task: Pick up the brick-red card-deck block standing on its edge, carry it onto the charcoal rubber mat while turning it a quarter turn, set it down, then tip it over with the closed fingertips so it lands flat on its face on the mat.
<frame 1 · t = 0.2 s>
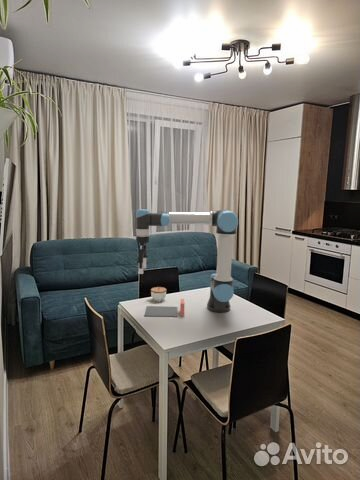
hand: (142, 270, 194), 27 cm above the table, fingers open, 13 cm apart
lidded jar: (158, 300, 225), on the table
mat: (161, 311, 204), on the table
deck: (182, 313, 202), on the table
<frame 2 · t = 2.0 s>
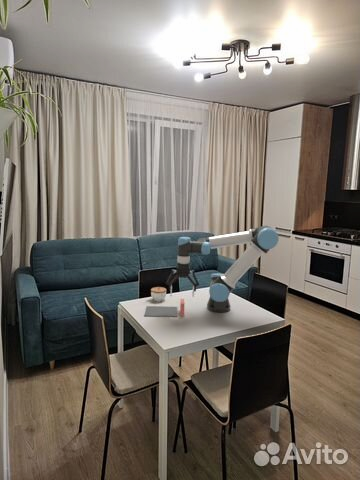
hand: (182, 296, 200), 11 cm above the table, fingers open, 13 cm apart
nothing on the table moved.
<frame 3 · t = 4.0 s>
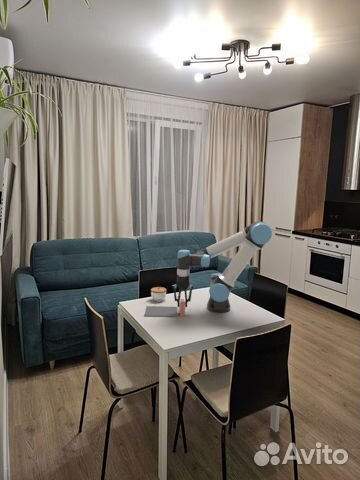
hand: (182, 311, 202), 1 cm above the table, fingers closed on deck, 2 cm apart
deck: (182, 313, 202), on the table, touching gripper
everything else where it was.
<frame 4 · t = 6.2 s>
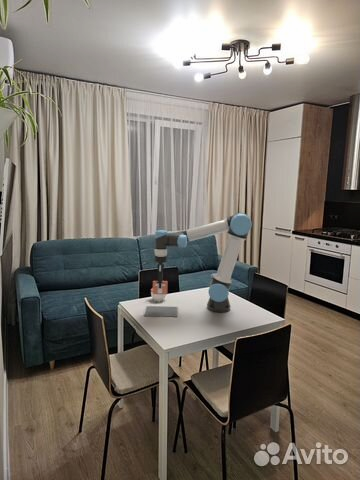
hand: (160, 292, 203), 12 cm above the table, fingers closed on deck, 2 cm apart
deck: (160, 293, 203), point 11 cm above the table, touching gripper
everything else where it was.
when the fingers open (3 cm above the table, at t = 8.3 s): deck drops 1 cm, resting on mat.
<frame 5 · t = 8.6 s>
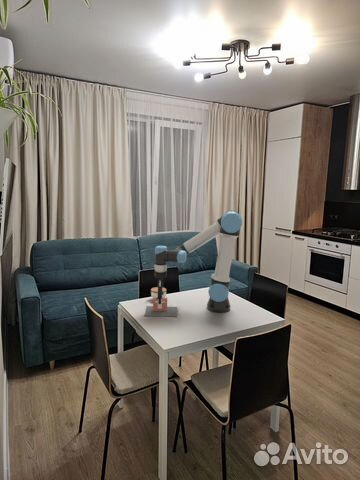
hand: (160, 306, 204), 3 cm above the table, fingers open, 6 cm apart
deck: (159, 310, 204), point 1 cm above the table, touching mat
everything else where it was.
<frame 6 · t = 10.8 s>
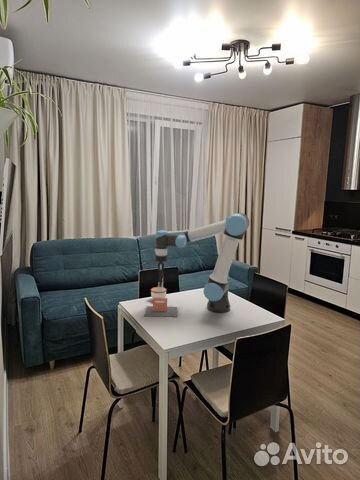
hand: (160, 289, 209), 12 cm above the table, fingers open, 6 cm apart
nothing on the table moved.
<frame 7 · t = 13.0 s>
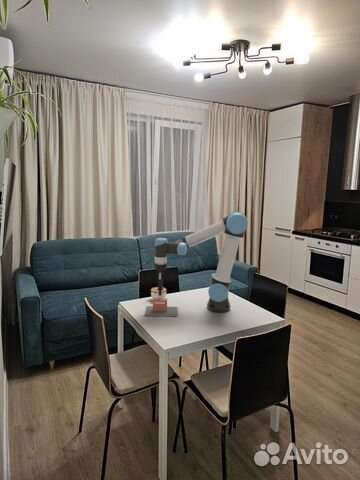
hand: (160, 299, 204), 7 cm above the table, fingers closed
deck: (159, 309, 204), point 1 cm above the table, tilted 15°, touching mat
everything else where it was.
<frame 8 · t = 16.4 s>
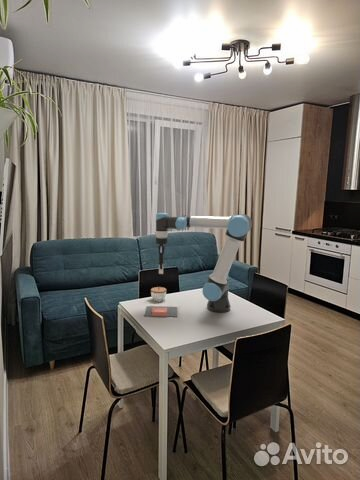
hand: (161, 273, 209), 22 cm above the table, fingers closed
deck: (159, 309, 203), point 2 cm above the table, tilted 89°, touching mat
everything else where it was.
at the end: deck tilted 89°; deck inside the target area (1.0 cm from its centre), point 1.7 cm above the table; the gripper is holding nothing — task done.
